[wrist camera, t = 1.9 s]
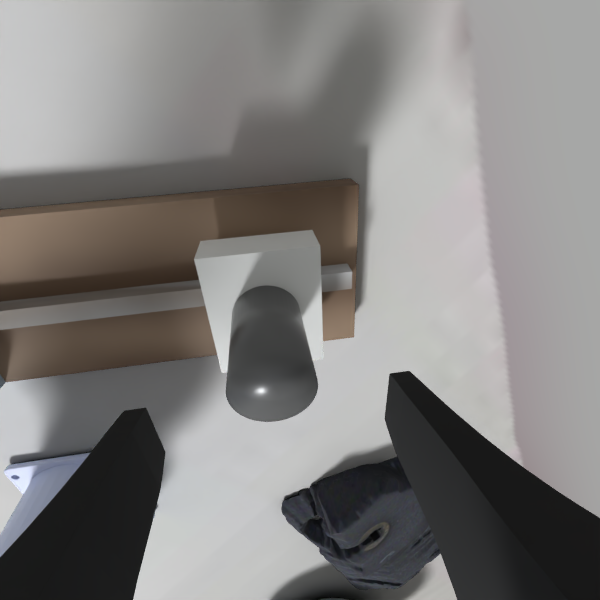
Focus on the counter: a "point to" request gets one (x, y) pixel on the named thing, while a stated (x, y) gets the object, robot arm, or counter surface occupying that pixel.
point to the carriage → (265, 319)
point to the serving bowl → (333, 599)
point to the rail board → (150, 272)
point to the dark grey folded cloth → (366, 524)
